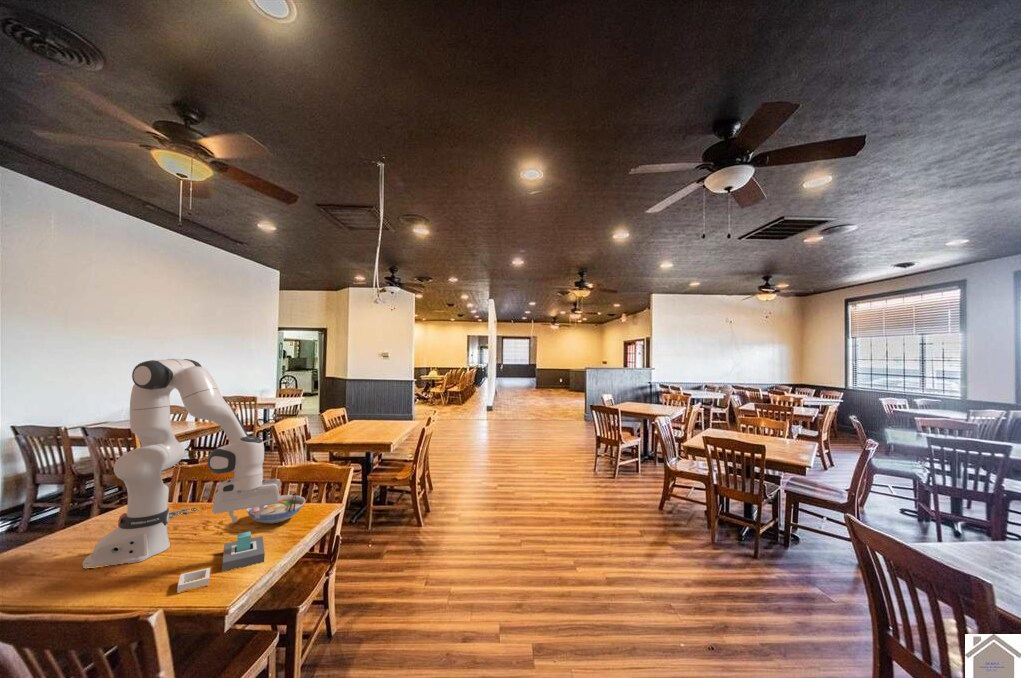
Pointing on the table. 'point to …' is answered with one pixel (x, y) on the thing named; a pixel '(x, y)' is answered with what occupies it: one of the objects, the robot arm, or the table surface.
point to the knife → (180, 512)
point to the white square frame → (193, 576)
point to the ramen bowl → (278, 509)
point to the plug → (243, 541)
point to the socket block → (243, 554)
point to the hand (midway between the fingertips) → (245, 520)
